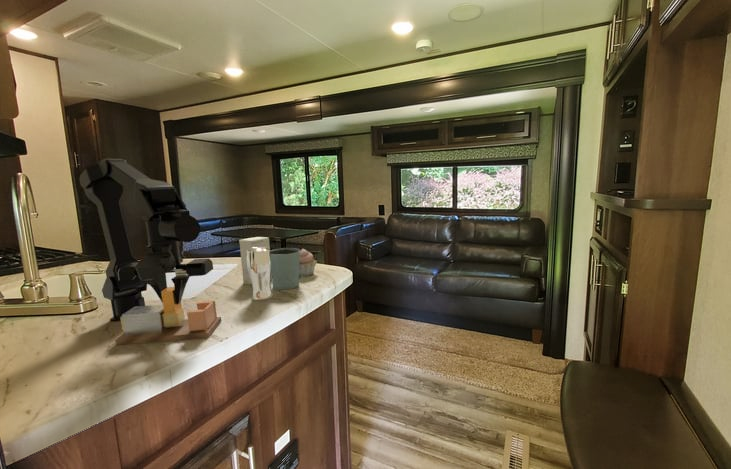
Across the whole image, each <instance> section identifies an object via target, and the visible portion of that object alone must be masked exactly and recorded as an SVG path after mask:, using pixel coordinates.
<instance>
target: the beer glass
mask: <svg viewBox="0 0 731 469" xmlns="http://www.w3.org/2000/svg"><path fill="white" fill-rule="evenodd" d="M270 251H271V247H270V248H268V247H256V248H251V249H248V250H247V266H248V271H249V275H250V278H251V282H252V285H251V286H252V297H251V299H252V300H253V301H266V300H270V299H271V298H273V297H274V294H273V290H272V287H271V286H272V285H271V284H272V280H271V270H272V262H271V254H270Z"/></svg>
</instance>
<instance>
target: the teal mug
mask: <svg viewBox="0 0 731 469" xmlns="http://www.w3.org/2000/svg"><path fill="white" fill-rule="evenodd" d="M300 251H301V250H300V248H294V247H283V248H282V247H281V248H276V249H275V248H274V249H272V250H271V249H270V254H271V262H272V270H271V275H272V280H271V284H272V288H273V289H274V290H276V291H277V290H281V291H285V290H291V289H294V288H297V287H299V285H300V277H299V259H300Z"/></svg>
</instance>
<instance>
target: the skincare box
mask: <svg viewBox="0 0 731 469" xmlns="http://www.w3.org/2000/svg"><path fill="white" fill-rule="evenodd" d="M238 242H239V249H240V263H241V269H242V270H241V271H242V283H243V284H245V285H249V286H252V282H251V278H250V275H249V271H248V266H247V250H248V249H251V248H256V247H268V248H270V249H271V247H270V238H269V236H268V237H265V236H255V237H248V238H242V239H239V241H238ZM272 280H273V279H272V275H271V281H272Z"/></svg>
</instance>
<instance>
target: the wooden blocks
mask: <svg viewBox="0 0 731 469" xmlns="http://www.w3.org/2000/svg"><path fill="white" fill-rule="evenodd" d="M161 295H162V301H161V303H162V302H163V303H162V305H163V308H164V311H163V312H162V313H160V315H161V321H162V327H175V326H180V325H181V324H182V323H183V322H184V321H185V311H184V308H183V307H182V302H180V304H177V303H176V299H175V287H174V286H167V288H166V289H164V290H163V291H161ZM120 319H121V320H120V324H121V328H122V331H124V325H123V319H122V317H120Z"/></svg>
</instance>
